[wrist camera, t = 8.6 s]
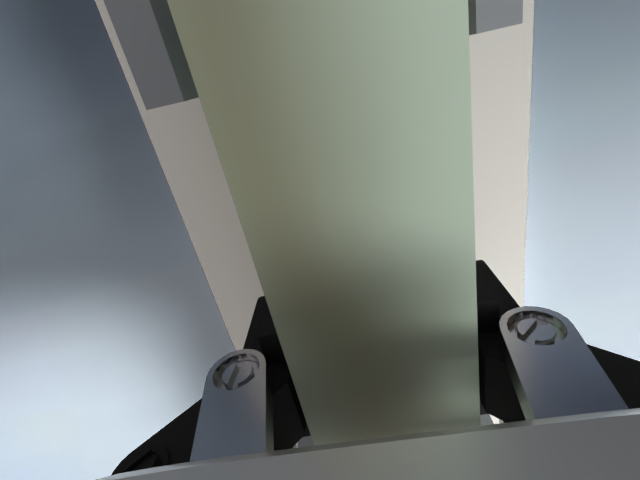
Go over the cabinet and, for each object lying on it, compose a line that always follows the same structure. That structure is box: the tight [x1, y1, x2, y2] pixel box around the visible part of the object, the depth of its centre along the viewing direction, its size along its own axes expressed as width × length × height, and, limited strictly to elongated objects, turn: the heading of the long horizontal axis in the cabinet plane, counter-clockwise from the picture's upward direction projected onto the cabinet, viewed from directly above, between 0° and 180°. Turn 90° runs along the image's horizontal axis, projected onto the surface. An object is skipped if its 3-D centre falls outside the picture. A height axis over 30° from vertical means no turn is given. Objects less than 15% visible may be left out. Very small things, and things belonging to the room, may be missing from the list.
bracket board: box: [95, 0, 534, 448], centre depth 12 cm, size 11×23×4 cm, turn 12°
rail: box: [167, 0, 480, 446], centre depth 10 cm, size 4×17×5 cm, turn 12°
